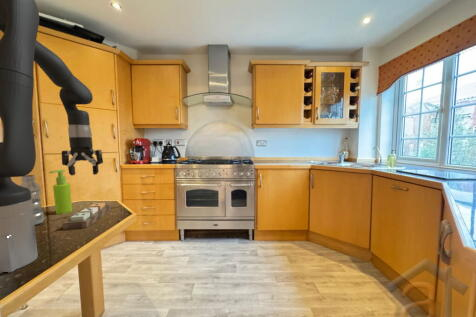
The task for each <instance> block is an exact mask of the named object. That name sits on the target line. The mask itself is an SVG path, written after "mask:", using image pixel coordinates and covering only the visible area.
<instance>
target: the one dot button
mask: <svg viewBox="0 0 476 317" xmlns="http://www.w3.org/2000/svg"><path fill="white" fill-rule="evenodd" d="M105 205H106V204H105V202H94V203H93V204H90V205H89V206H88V208H92V207H98V209H102V208H103V207H105Z"/></svg>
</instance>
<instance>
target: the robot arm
mask: <svg viewBox="0 0 476 317" xmlns="http://www.w3.org/2000/svg"><path fill="white" fill-rule="evenodd" d="M39 24H40V13H39V8H38V5H37V3H36V1H35V0H0V31H1V32H2V33H3V35H2V36H1V37H0V119H1V123H2V129H3V134H2V135H3V139H2V141H0V274H3V273H2V272H8V273H12V272H14V271H15V270H17V269H20V268H23V267H25V266H27V265H30V264H31V263H33V262H34V261H36V259H38V257H39V255H38V244H37V243H38V242H37V237H36V236H37V235H36V228H35V226H36V225H34V217H33V207H32V199H31V192H30V190H29V189H28V188H25V187H22V186H20V185H19V184H17V183H16V182H14V181H13V180H12V178H18V177H19V178H21V176H26V175H30V174H31V172H32V171H34V168H35V165H36V161H37V160H36V159H37V153H36V141H35V134H34V124H33V123H34V118H33V116H34V115H33V114H34V113H33V111H34V110H33V108H34V107H33V101H34V100H33V98H34V86H35V84H34V82H35V79H34V77H35V76H34V68H35V65H34V64H36V65H38V67H39V68H40V69H41V71H43V73H44V74H45V75H46V76H47V77H48V79H49V80H50V81H51V82H52V83H53V84H54V86H57V87H59V88H60V90H59V94H58V95H59V99H60V101H61V104H62V106H63V108H64V110H65V113H66V115H67V116H66V117H67V123H68V127H67V130H68V131H67V132H68V141H69V148H70V150H68V149H67V150H61V164H62V166H66V167H67V169H68V174H69V175H70V176H75V175H76V166H75V164H77V162H80V161H85V162H86V161H88V163H90V164H91V166H92V174H93V175H98V173H99V166H100V165H101V164H103V163H104V160H103V152H102V149H96V150H94V149H93V133H92V128H91V124H90V115H89V112H88V111H86V110H82V109H78V106H77V105H90V104H91V103H92V102H93V98H94V97H93V96H94V95H93V93H92V92H91V90H90V88H89V87H87V85H85V84H84V83H83V82H82V81H81V80H80V79H79V78H77V77H76V76H75V75H74V74H73V72H72V71H71V70H70V69H69V67H68V66H67V64H66V62H64V61H63V59H61V57H59V55H57V54H56V53H55V52H53V51H52V50H50V49H49V48H48V47H47V46H45V45H43V43H41V42H39V40H37V37H38V33H39V32H38V31H39V26H40V25H39ZM34 62H35V63H34ZM70 155H71V156H72V157H71V158H70ZM93 155H95V157H94V156H93Z"/></svg>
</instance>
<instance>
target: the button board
mask: <svg viewBox="0 0 476 317" xmlns="http://www.w3.org/2000/svg"><path fill="white" fill-rule="evenodd" d="M111 210H112V205H111V204H105V207H103V208H102V209H98V211H97V212H96V213H94V214H90V217H88V218H87V219H85V220H82V221H71V218H69V219H68V220H66V221H64V222H62V229H63V230H74V229H87V228H89V226H91V225H92V224H94V223H95V222H96V221H97V220H99V219H100V218H101V217H103V216H104V215H106V214H107V213H108V212H110V211H111Z"/></svg>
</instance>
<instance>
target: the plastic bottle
mask: <svg viewBox="0 0 476 317" xmlns="http://www.w3.org/2000/svg"><path fill="white" fill-rule="evenodd" d="M20 178H21V179H20V180H21V182H22V183H20V185H19V186H22V187H25V188H28V189H29V190H30V192H31V199H32V207H33V217H34V226H36V225H39V224H42V223H43V221H44V220H45V213H44V211H43V207H42V204H41V203H42V202H41V193H42V192H41V191H42V190H41V189H42V187H41V186H40V184H39V183H38V182H36V181H35V180H36V176H35V174H28V175H25V176H21V177H20Z"/></svg>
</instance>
